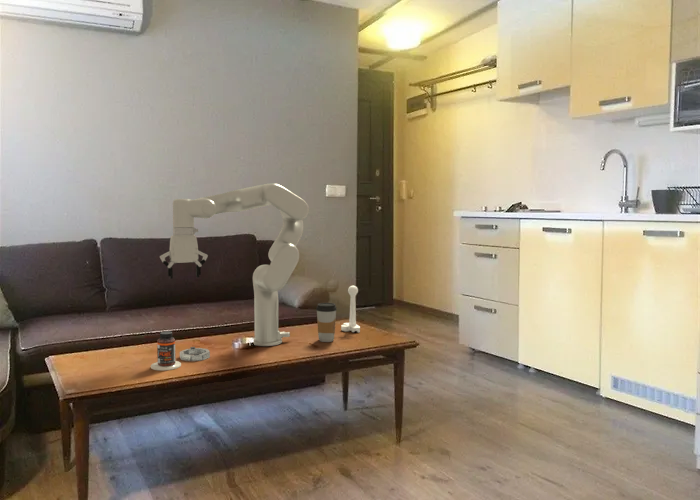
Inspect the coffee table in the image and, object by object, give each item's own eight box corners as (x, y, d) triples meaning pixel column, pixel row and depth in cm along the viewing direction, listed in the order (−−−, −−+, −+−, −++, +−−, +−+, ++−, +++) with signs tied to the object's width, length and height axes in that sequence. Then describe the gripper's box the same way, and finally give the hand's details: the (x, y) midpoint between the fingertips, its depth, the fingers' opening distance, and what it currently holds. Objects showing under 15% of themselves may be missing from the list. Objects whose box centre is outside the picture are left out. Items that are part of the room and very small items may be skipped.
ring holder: (206, 352, 220) (206, 345, 220) (211, 359, 211) (211, 352, 211) (178, 355, 216) (178, 348, 216) (182, 362, 207) (182, 355, 207)
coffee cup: (334, 343, 236) (334, 306, 235) (314, 342, 237) (314, 305, 236) (338, 338, 244) (338, 302, 243) (318, 337, 245) (318, 302, 244)
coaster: (179, 361, 209) (178, 359, 209) (182, 368, 199) (182, 366, 199) (149, 364, 205) (149, 362, 205) (152, 371, 195) (152, 370, 195)
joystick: (362, 332, 255) (362, 287, 254) (346, 333, 252) (346, 288, 251) (352, 327, 266) (352, 283, 264) (336, 328, 263) (337, 284, 261)
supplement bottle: (157, 367, 198) (156, 335, 197) (157, 362, 204) (156, 331, 203) (176, 366, 200) (175, 333, 199) (175, 361, 206) (174, 329, 205)
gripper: (205, 231, 224) (206, 275, 225) (158, 231, 217) (159, 277, 218) (209, 232, 217) (209, 277, 219) (160, 233, 210) (161, 280, 212)
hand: (184, 277), depth 219 cm, fingers open, 9 cm apart
